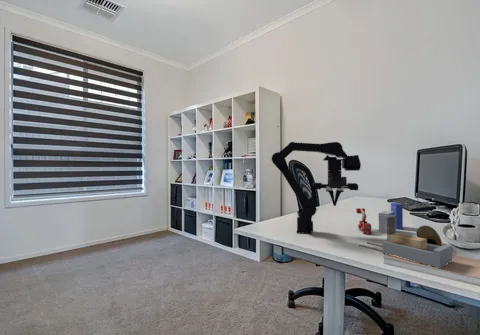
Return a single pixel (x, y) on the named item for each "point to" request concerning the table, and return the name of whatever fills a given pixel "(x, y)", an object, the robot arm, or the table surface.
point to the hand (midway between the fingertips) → (334, 205)
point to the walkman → (397, 213)
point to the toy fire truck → (363, 222)
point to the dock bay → (419, 253)
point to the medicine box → (384, 220)
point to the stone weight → (429, 235)
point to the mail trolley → (403, 236)
